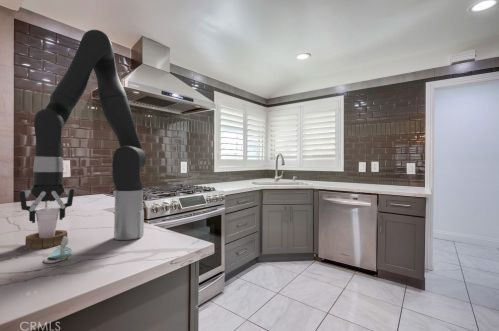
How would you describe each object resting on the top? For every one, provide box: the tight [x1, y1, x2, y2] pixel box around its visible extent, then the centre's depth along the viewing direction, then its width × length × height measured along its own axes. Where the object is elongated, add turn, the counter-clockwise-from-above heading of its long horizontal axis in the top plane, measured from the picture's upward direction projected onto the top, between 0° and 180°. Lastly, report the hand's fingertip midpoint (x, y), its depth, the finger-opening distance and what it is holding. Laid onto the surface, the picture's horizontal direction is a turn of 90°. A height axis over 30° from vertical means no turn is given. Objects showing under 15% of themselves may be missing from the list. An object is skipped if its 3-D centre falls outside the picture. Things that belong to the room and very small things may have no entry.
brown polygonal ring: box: [24, 229, 68, 250], centre depth 78 cm, size 10×10×3 cm
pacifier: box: [43, 236, 72, 264], centre depth 66 cm, size 7×6×6 cm
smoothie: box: [35, 201, 60, 238], centre depth 79 cm, size 6×6×14 cm
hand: (47, 220), depth 79 cm, fingers closed on smoothie, 6 cm apart
